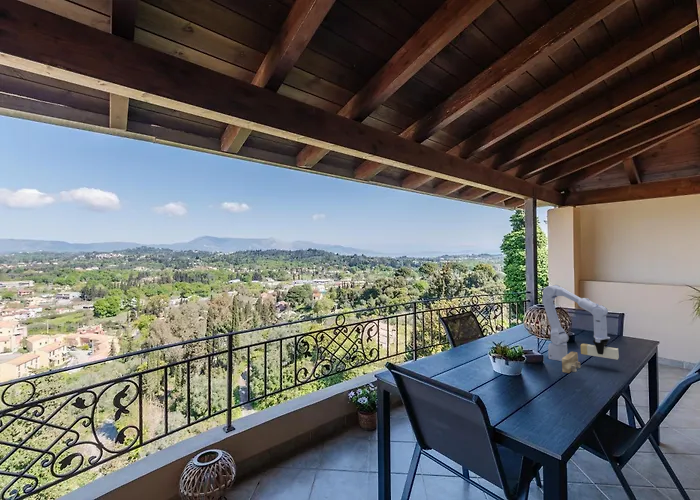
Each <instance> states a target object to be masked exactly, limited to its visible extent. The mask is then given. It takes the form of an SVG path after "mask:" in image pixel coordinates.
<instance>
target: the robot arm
mask: <svg viewBox="0 0 700 500" xmlns="http://www.w3.org/2000/svg"><path fill="white" fill-rule="evenodd" d="M558 297H564V298H566V299H569V300H570V301H572V302H575V303H577V305H578V307H579V308H581V309H583V310H585V311H586V312H589V314H590V313H591V315H592V317H593V338H594V339H593V340H592V343H593V345H595V346H596V349H597V353H598V354H602V355H603V352H604V347H607V345H608V342H609V340H610V339H611V337H610V336H608V323H607V315H608V313H609V311H608V308H607V307H605V306H604V305H601V304H600V305H599V303H597V302H594V301H591V300H590V298H588V297H579V296H578V295H576V294H575V293H573V292H571V291H570V290H567V289H566V288H564V287H563V286H560V285H559V284H553V285H547V286H546V287H545V288H544V289H543V290H542V297H541V302H542V304H543V307H544V311H545V314H546V317H547V321H548V323H549V326H550V333H549V334H550V342H549V343H548V344H547V345H548V347H547V352H548V355H547V356H548V359H549V360H552V361H558V362H559V361H560V362H562V358H563V357H565V356H566V355H567V354H568V343H567V342H569V339H570V337H569V335H568V334H567V333H566V330H565V329H564V328H563V327H562V325H561V321H560V319H559V316H558V312H557V310H556V307H555V303H554V301H555V299H556V298H558Z"/></svg>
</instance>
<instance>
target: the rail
mask: <svg viewBox="0 0 700 500" xmlns="http://www.w3.org/2000/svg"><path fill="white" fill-rule="evenodd" d="M580 354H581V355H585V356H591V357H599V358H605V359H611V360H617V361H618V360H619V358H620V355H619V347H617V348H616V347H611V346H610V347H609V346H606V347H604V352H603V355H602V354H598V353H597V349H596V346H595V344H588V343H581V344H580Z"/></svg>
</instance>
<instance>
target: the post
mask: <svg viewBox="0 0 700 500" xmlns="http://www.w3.org/2000/svg"><path fill="white" fill-rule="evenodd" d="M561 369H562V371H561V372H562V373H567V374H570V373H572V372H573V373H577V371H578V370H577V369H581V362H580V361H579V356H578V352H576V351H570V352H569V353H567V355H566V356H565V357H563V358H562V361H561Z"/></svg>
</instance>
